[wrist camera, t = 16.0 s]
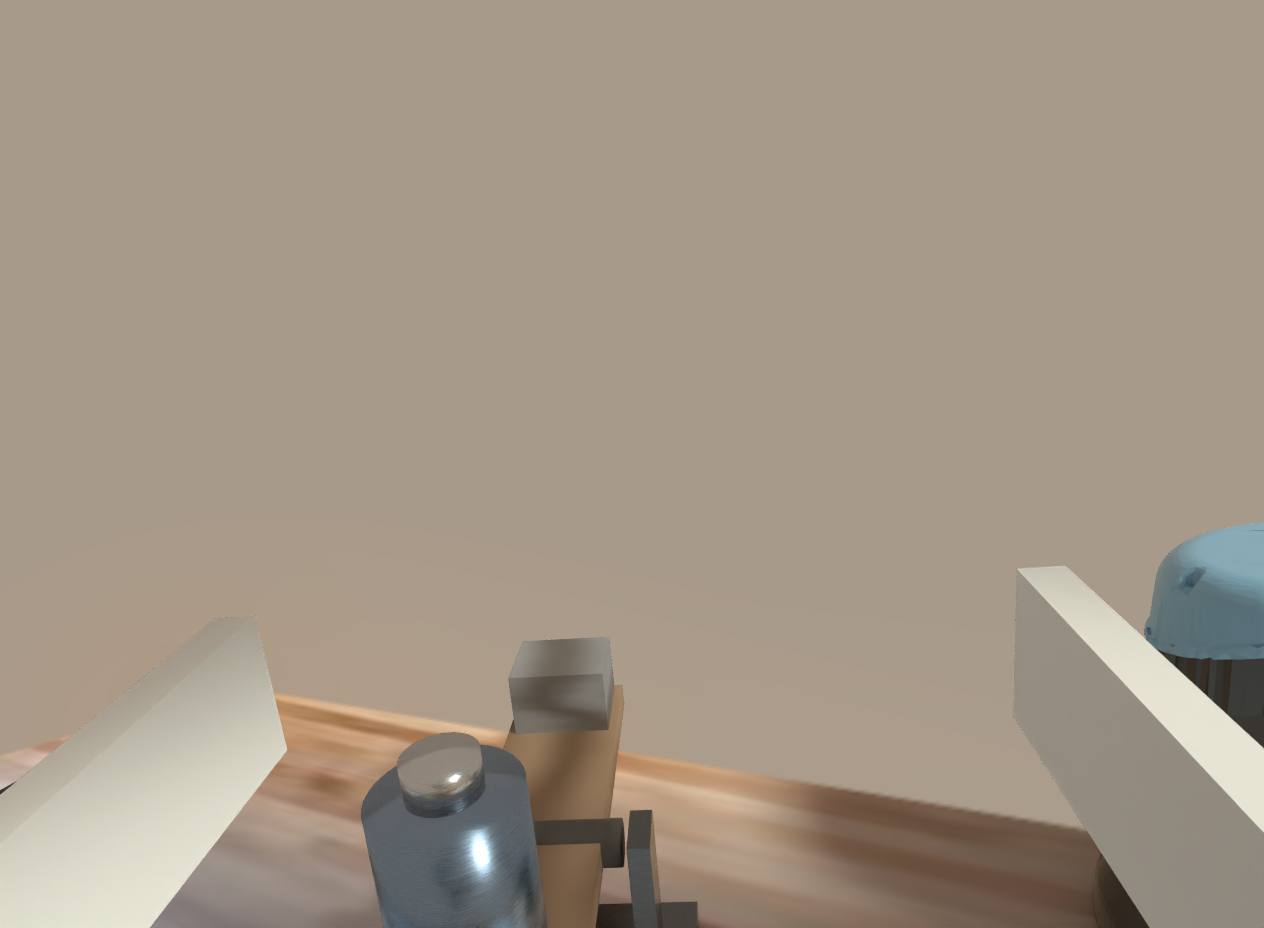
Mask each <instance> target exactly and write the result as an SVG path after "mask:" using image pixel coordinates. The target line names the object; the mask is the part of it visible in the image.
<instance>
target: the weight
mask: <svg viewBox="0 0 1264 928" xmlns="http://www.w3.org/2000/svg"><path fill="white" fill-rule="evenodd" d="M361 818H362V823H363V828H364V833H365V837H366V842H367V847H368V852H369V857H370V862H371V867H372V872H373V877H374V881H375V886H376V891H377V896H378V901H379V906H380V911H381V916H382V920H383V925H384V928H548V921H547V914H546V907H545V901H544V894H543V887H542V880H541V873H540V866H539V860H538V853H537V846H536V839H535V832H534V826H533V819H532V812H531V805H530V798H529V792H528V785H527V778H526V772H525V769H524V767H523V765H522V763H521V762H520V761H519V760H518V759H517V758H516V757H515V756H514V755H512V754H511V753H509V752H507V751H505V750H502V749H500V748H496V747H492V746H486V745H480V744H479V742H478V741H477V739H475V738H474V737H472V736H470V735H468V734H464V733H456V732H451V733H441V734H437V735H433V736H429V737H427V738H424V739H422V740H419V741H417V742H416V743H414V744H412V745H411V746H409V747H408V748H407V749H406V750H405V751H404V752H403V753H402V754H401V755H400V757H399V759H398V761H397V766H396V767H395V768H393V769H392V770H390V771H389V772H387V773H386V774H385V775H384V776H382V777H381V778H380V779H379V780H378V781H377V782H376V783H375V784H374V785H373V787H372V788H371V789H370V790H369V792H368V794H367V795H366V797H365V799H364V801H363V804H362V808H361Z"/></svg>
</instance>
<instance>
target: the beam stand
mask: <svg viewBox="0 0 1264 928" xmlns="http://www.w3.org/2000/svg"><path fill="white" fill-rule="evenodd" d="M627 859H628V868H629V878H630V888H631V897H632V904H599V905H598V912H597V920H596V928H698V907H697V902H669V903H661V900H660V889H659V878H658V868H657V857H656V847H655V836H654V825H653V815H652V810H636V811H630V817H629V828H628V838H627Z"/></svg>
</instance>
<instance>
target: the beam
mask: <svg viewBox="0 0 1264 928" xmlns="http://www.w3.org/2000/svg"><path fill="white" fill-rule="evenodd" d="M508 680H509V688H510V694H511V702H512V709H513V716H514V720H513V722H512V725H511V728H510V731H509V734H508V737H507V739H506V742H505V745H504V748H503V750H505V751H507V752H509V753H511V754H512V755H514V756H515V757H516V758H517V759H518V760H519V761H520V762H521V763H522V765H523V767H524V769H525V772H526V778H527V785H528V792H529V798H530V805H531V812H532V819H533V826H534V832H535V839H536V846H537V853H538V860H539V866H540V873H541V880H542V887H543V894H544V901H545V907H546V914H547V921H548V928H596V920H597V912H598V905H599V897H600V889H601V881H602V873H603V868H619V867H623V866H624V858H625V837H624V825H623V819H622V818H610V811H611V803H612V795H613V788H614V780H615V772H616V764H617V756H618V749H619V740H620V733H621V725H622V717H623V710H624V698H623V688H622V685H617V686H614V679H613V669H612V659H611V650H610V641H609V637H599V638H579V639H560V640H541V641H524V642H522V645H521V647H520V650H519V652H518V655H517V657H516V660H515V662H514V665H513V667H512V670H511V673H510V675H509V678H508Z"/></svg>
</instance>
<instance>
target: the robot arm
mask: <svg viewBox="0 0 1264 928" xmlns="http://www.w3.org/2000/svg"><path fill="white" fill-rule="evenodd" d="M1144 635H1145V636H1146V640H1145V639H1144V638H1143V637H1142V636H1141V635H1140V634H1139V633H1138V632H1137V631H1136V630H1135V629H1134V628H1132V627H1131V626H1130V625H1129V624H1128V623H1127V622H1126V621H1125V620H1124V619H1123V618H1122V617H1120V616H1119V615H1118V614H1117V613H1116V612H1115V611H1114V610H1113V609H1112V608H1111V607H1110V606H1108V605H1107V604H1106V603H1105V602H1104V601H1103V600H1102V599H1101V598H1100V597H1098V595H1097V594H1095V593H1094V592H1093V591H1092V590H1091V589H1090V588H1089V587H1088V586H1087V585H1085V583H1084V582H1082V581H1081V580H1080V579H1079V578H1078V577H1077V576H1076V575H1075V574H1074V573H1073V572H1072V571H1071V570H1069V569H1068V568H1067V567H1066V566H1054V567H1037V568H1020V569H1017V579H1016V618H1015V662H1014V700H1013V701H1014V702H1013V717H1014V719H1015V720H1016V722H1017V724H1018V725H1019V726H1020V728H1021V730H1022V731H1023V733H1024V734H1025V736H1026V737H1027V739H1028V740H1029V742H1030V744H1031V745H1032V747H1033V748H1034V750H1035V751H1036V753H1037V754H1038V756H1039V757H1040V759H1041V761H1042V762H1043V764H1044V765H1045V767H1046V768H1047V770H1048V771H1049V773H1050V774H1051V776H1052V778H1053V779H1054V781H1055V782H1056V784H1057V785H1058V787H1059V788H1060V790H1061V791H1062V793H1063V795H1064V796H1065V797H1066V799H1067V801H1068V802H1069V804H1070V805H1071V807H1072V808H1073V810H1074V811H1075V813H1076V815H1077V816H1078V818H1079V819H1080V821H1081V822H1082V824H1083V825H1084V827H1085V829H1086V830H1087V832H1088V833H1089V835H1090V836H1091V838H1092V839H1093V841H1094V842H1095V844H1096V846H1097V847H1098V849H1099V850H1100V855H1099V858H1098V861H1097V866H1096V873H1095V888H1094V911H1095V916H1096V920H1097V923H1098V926H1099V928H1264V522H1263V523H1254V524H1245V525H1239V526H1234V527H1230V528H1223V529H1219V530H1215V531H1211V532H1207V533H1205V534H1202V535H1199V536H1196V537H1194V538H1192V539H1190V540H1187V541H1185V542H1183V543H1182V544H1180V545H1179V546H1177V547H1176V548H1174V549H1173V550H1172V551H1171V552H1170V553H1169V554H1168V555H1167V556H1166V557H1165V558H1164V560H1163V561H1162V563H1161V564H1160V566H1159V568H1158V571H1157V575H1156V580H1155V586H1154V593H1153V599H1152V606H1151V612H1150V617H1149V618H1148V620H1147V622H1146V624H1145V628H1144ZM286 751H287V747H286V743H285V739H284V735H283V731H282V726H281V722H280V718H279V714H278V709H277V705H276V701H275V697H274V693H273V688H272V685H271V680H270V676H269V672H268V667H267V663H266V659H265V655H264V650H263V646H262V642H261V638H260V634H259V630H258V625H257V621H256V617H255V616H243V617H226V618H215V619H213V620H212V621H211V622H209V623H208V624H207V625H206V626H205V627H203V628H202V629H201V630H200V631H199V632H198V633H196V634H195V635H194V636H192V637H191V638H190V639H189V640H188V641H186V642H185V643H184V644H183V645H182V646H180V647H179V648H178V649H177V650H175V651H174V652H173V653H172V654H171V655H169V656H168V657H167V658H166V659H165V660H163V661H162V662H161V663H160V664H158V665H157V666H156V667H155V668H154V669H152V670H151V671H150V672H149V673H148V674H146V675H145V676H144V677H143V678H141V679H140V680H139V681H138V682H137V683H135V684H134V685H133V686H132V687H131V688H129V689H128V690H127V691H126V692H124V693H123V694H122V695H121V696H120V697H119V698H117V699H116V700H115V701H114V702H112V703H111V704H110V705H109V706H107V707H106V708H105V709H104V710H103V711H101V712H100V713H99V714H98V715H97V716H95V717H94V718H93V719H92V720H90V722H88V723H87V724H86V725H84V726H83V727H82V728H81V729H80V730H78V731H77V732H76V733H75V734H73V735H72V736H71V737H70V738H69V739H67V740H66V741H65V742H64V743H63V744H61V745H60V746H59V747H58V748H56V749H55V750H54V751H53V752H52V753H50V754H49V755H48V756H47V757H46V758H44V759H43V760H42V761H41V762H39V763H38V764H37V765H36V766H35V767H33V768H32V769H31V770H30V771H29V772H27V773H26V774H25V775H24V776H22V777H21V778H20V779H19V780H18V781H16V782H14V783H12V784H11V785H9V786H7V787H5V788H4V789H2V790H0V928H150V927H151V926H152V924H153V923H154V922H155V920H156V919H157V918H158V916H159V915H160V914H161V913H162V911H163V910H164V909H165V907H166V906H167V905H168V904H169V902H170V901H171V900H172V898H173V897H174V896H175V894H176V893H177V892H178V891H179V889H180V888H181V887H182V885H183V884H184V883H185V882H186V880H187V879H188V878H189V876H190V875H191V874H192V872H193V871H194V870H195V869H196V867H197V866H198V865H199V863H200V862H201V861H202V860H203V858H204V857H205V856H206V854H207V853H208V852H209V850H210V849H211V848H212V847H213V845H214V844H215V843H216V841H217V840H218V839H219V838H220V836H221V835H222V834H223V832H224V831H225V830H226V828H227V827H228V826H229V825H230V823H231V822H232V821H233V819H234V818H235V817H236V816H237V814H238V813H239V812H240V810H241V809H242V808H243V806H244V805H245V804H246V803H247V801H248V800H249V799H250V797H251V796H252V795H253V794H254V792H255V791H256V790H257V788H258V787H259V786H260V784H261V783H262V782H263V781H264V779H265V778H266V777H267V775H268V774H269V773H270V772H271V770H272V769H273V768H274V766H275V765H276V764H277V762H278V761H279V760H280V759H281V757H282V756H283V755H284V753H285V752H286Z"/></svg>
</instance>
